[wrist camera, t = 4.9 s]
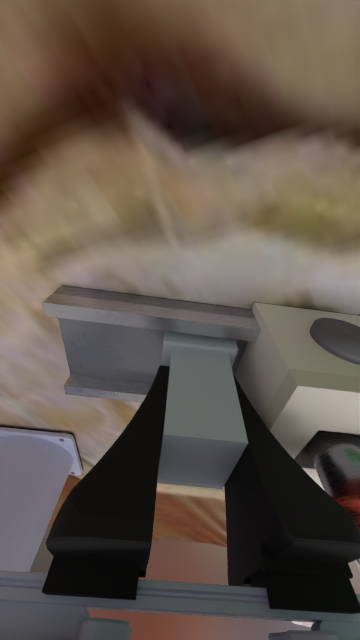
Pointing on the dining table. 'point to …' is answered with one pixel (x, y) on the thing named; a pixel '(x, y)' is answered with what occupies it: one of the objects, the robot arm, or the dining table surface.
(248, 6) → the dining table surface
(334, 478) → the red push button
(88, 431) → the dining table surface
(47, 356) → the dining table surface
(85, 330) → the rail
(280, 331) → the end cabinet
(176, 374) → the carriage
